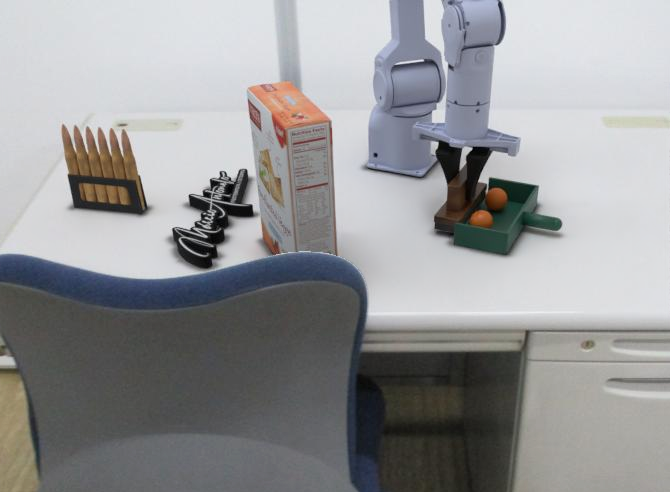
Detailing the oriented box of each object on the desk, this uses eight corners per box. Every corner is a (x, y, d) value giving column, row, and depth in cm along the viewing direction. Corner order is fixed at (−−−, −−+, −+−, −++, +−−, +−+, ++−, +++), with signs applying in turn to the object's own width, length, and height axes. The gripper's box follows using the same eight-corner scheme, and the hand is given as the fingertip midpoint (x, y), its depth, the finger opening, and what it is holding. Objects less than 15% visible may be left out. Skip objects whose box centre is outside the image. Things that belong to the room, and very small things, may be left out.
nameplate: (238, 257, 106) (159, 257, 106) (239, 268, 107) (161, 268, 107) (262, 168, 128) (197, 168, 128) (263, 178, 128) (198, 177, 129)
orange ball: (505, 196, 116) (501, 216, 119) (511, 186, 119) (508, 207, 121) (483, 191, 117) (480, 211, 119) (490, 182, 120) (487, 202, 122)
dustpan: (453, 244, 112) (454, 223, 110) (487, 196, 124) (489, 176, 122) (546, 262, 109) (549, 241, 107) (573, 211, 120) (576, 191, 118)
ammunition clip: (148, 208, 120) (132, 127, 113) (142, 214, 119) (126, 132, 111) (79, 201, 122) (59, 121, 114) (73, 207, 121) (53, 126, 113)
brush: (433, 230, 114) (435, 190, 110) (462, 193, 123) (465, 155, 119) (458, 235, 113) (460, 195, 109) (485, 197, 122) (489, 159, 118)
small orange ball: (493, 228, 112) (478, 242, 114) (500, 218, 114) (485, 232, 116) (476, 211, 111) (461, 226, 113) (483, 201, 113) (469, 216, 116)
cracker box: (260, 241, 113) (243, 85, 100) (301, 233, 115) (291, 78, 101) (295, 291, 103) (282, 125, 90) (340, 281, 105) (334, 116, 92)
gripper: (404, 100, 107) (402, 198, 116) (514, 116, 103) (503, 217, 111) (424, 83, 112) (420, 178, 121) (528, 98, 108) (517, 196, 116)
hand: (461, 196), depth 116 cm, fingers closed on brush, 2 cm apart
